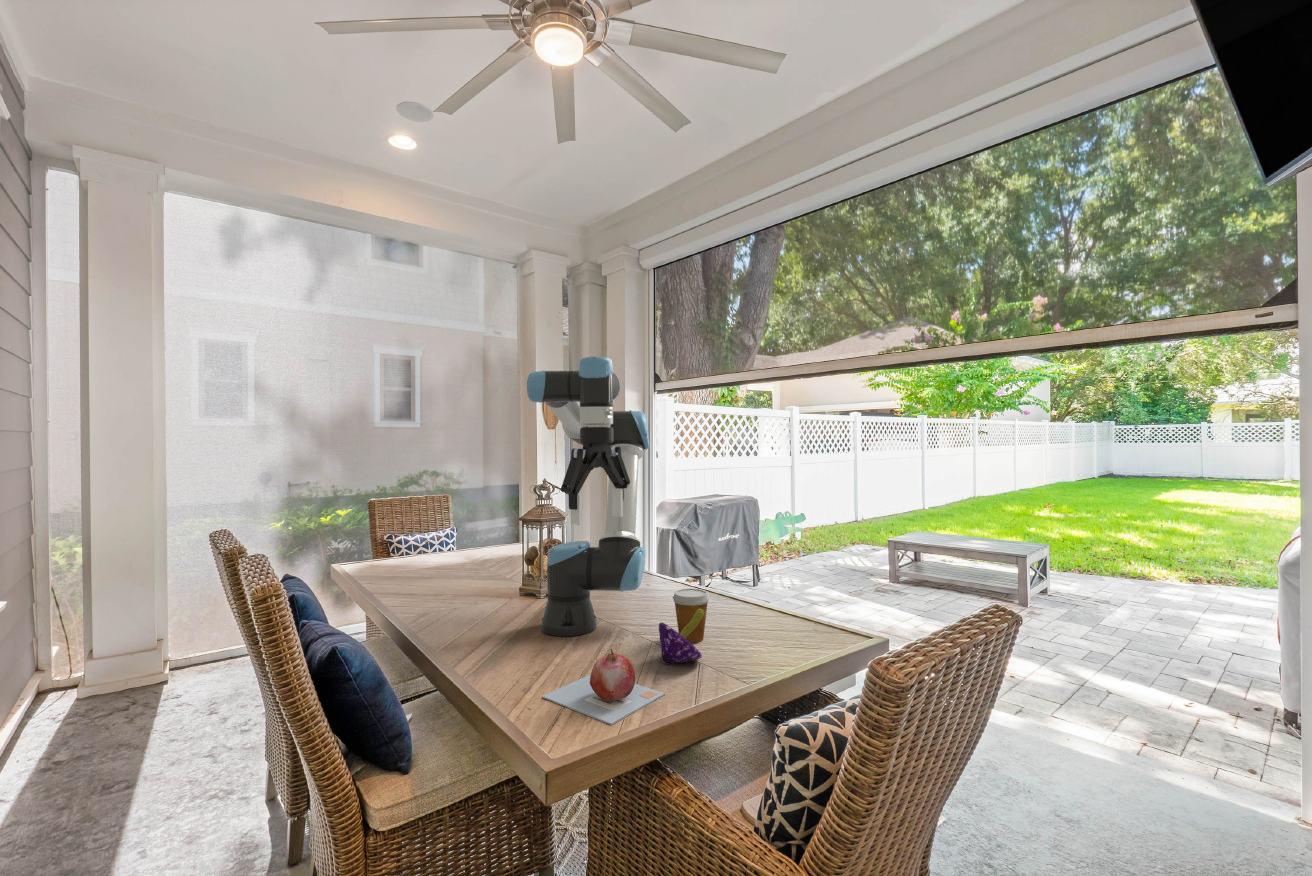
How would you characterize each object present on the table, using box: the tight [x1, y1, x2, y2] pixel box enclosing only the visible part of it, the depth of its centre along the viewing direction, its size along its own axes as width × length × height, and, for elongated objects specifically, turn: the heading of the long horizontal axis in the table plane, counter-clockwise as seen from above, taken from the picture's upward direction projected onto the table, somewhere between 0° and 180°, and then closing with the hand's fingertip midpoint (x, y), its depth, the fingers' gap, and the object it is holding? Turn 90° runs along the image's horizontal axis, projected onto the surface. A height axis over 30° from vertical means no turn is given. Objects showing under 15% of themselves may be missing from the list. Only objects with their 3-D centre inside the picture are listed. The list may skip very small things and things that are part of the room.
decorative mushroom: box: [658, 609, 704, 665], centre depth 139 cm, size 12×12×15 cm
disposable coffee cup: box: [672, 588, 710, 644], centre depth 155 cm, size 10×10×12 cm
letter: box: [541, 673, 666, 726], centre depth 121 cm, size 19×16×1 cm
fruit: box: [590, 648, 636, 702], centre depth 119 cm, size 9×10×10 cm
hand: (597, 520), depth 135 cm, fingers open, 13 cm apart
